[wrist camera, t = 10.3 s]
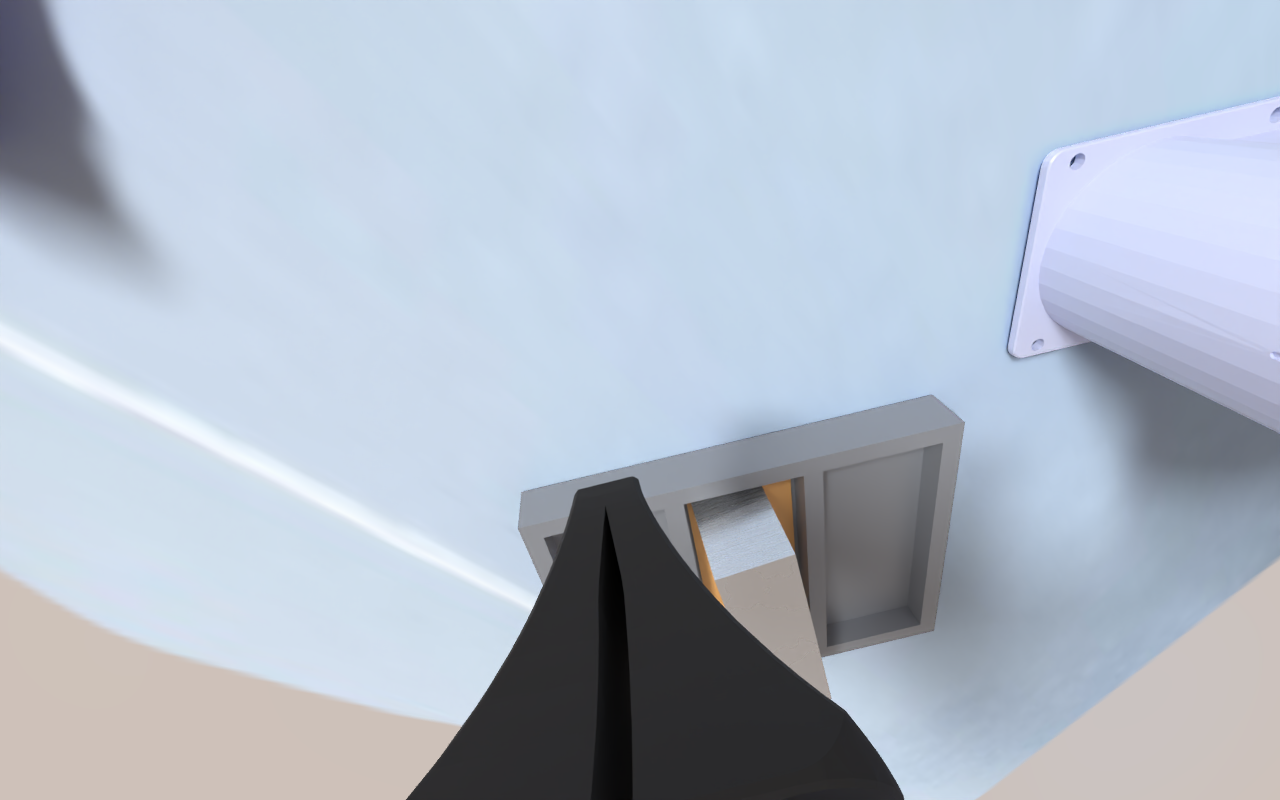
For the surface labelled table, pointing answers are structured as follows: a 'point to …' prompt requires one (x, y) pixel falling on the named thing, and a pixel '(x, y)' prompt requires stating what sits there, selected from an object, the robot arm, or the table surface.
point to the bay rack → (813, 512)
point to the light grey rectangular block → (760, 578)
